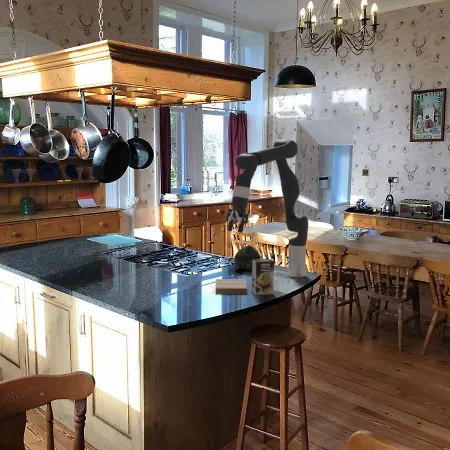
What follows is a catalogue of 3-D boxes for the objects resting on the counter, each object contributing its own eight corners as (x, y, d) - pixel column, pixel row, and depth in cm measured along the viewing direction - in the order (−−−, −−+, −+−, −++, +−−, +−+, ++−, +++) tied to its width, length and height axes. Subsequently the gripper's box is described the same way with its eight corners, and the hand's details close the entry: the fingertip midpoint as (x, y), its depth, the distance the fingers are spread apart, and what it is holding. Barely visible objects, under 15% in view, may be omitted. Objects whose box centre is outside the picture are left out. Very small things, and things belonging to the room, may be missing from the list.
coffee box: (255, 295, 239) (256, 261, 237) (251, 291, 245) (251, 259, 243) (273, 294, 241) (274, 260, 239) (268, 290, 248) (269, 258, 245)
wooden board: (216, 283, 259) (216, 279, 258) (245, 284, 259) (245, 279, 258) (215, 293, 242) (215, 288, 241) (247, 293, 242) (247, 288, 241)
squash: (240, 255, 302) (236, 239, 291) (265, 258, 297) (261, 242, 286) (234, 274, 293) (229, 259, 282) (259, 278, 288) (255, 262, 277)
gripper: (256, 199, 229) (250, 234, 229) (238, 198, 241) (232, 231, 241) (242, 195, 225) (236, 231, 225) (225, 195, 237) (219, 229, 237)
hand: (234, 231), depth 233 cm, fingers open, 8 cm apart
